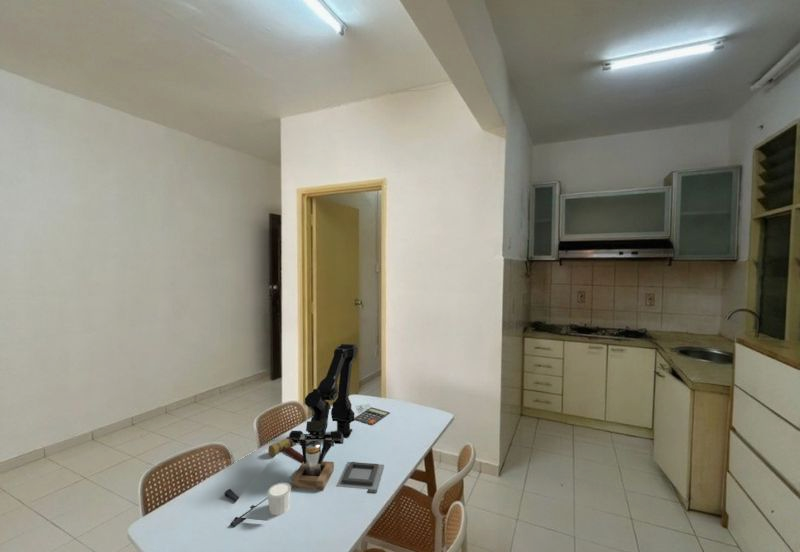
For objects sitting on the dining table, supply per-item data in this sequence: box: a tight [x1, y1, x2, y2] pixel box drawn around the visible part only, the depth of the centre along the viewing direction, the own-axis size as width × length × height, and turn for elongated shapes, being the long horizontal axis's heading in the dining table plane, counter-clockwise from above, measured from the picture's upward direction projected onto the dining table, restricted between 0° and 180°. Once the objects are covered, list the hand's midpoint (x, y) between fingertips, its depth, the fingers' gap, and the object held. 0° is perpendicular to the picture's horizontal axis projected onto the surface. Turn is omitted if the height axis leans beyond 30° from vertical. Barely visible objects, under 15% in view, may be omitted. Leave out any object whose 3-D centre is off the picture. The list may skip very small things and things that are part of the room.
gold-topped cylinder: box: [306, 440, 322, 477], centre depth 120 cm, size 5×5×12 cm
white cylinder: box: [267, 482, 292, 516], centre depth 106 cm, size 7×7×7 cm
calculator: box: [354, 407, 391, 426], centre depth 170 cm, size 12×1×15 cm
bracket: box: [224, 488, 268, 528], centre depth 110 cm, size 14×15×3 cm
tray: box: [335, 461, 385, 493], centre depth 123 cm, size 14×14×2 cm
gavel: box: [268, 436, 303, 464], centre depth 135 cm, size 21×5×10 cm
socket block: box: [291, 460, 335, 491], centre depth 121 cm, size 11×11×4 cm
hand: (312, 463), depth 119 cm, fingers closed on gold-topped cylinder, 5 cm apart
